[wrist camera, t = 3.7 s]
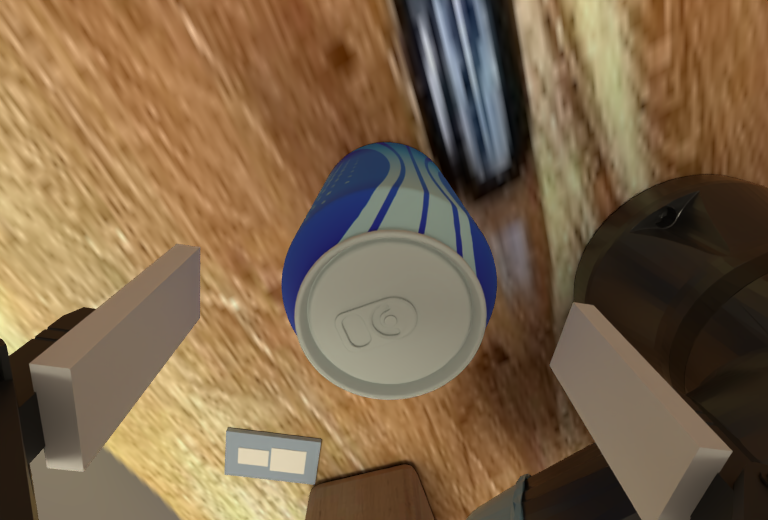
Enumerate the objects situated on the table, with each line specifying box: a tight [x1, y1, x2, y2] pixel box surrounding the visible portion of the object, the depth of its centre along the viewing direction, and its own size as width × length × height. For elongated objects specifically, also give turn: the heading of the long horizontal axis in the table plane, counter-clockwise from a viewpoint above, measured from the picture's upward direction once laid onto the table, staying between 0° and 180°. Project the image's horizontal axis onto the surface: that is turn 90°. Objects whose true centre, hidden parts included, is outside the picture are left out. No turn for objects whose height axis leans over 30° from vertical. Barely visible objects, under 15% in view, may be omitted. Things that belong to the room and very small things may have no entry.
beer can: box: [282, 142, 497, 400], centre depth 22 cm, size 8×8×16 cm
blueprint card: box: [225, 428, 321, 485], centre depth 38 cm, size 8×5×1 cm, turn 80°
